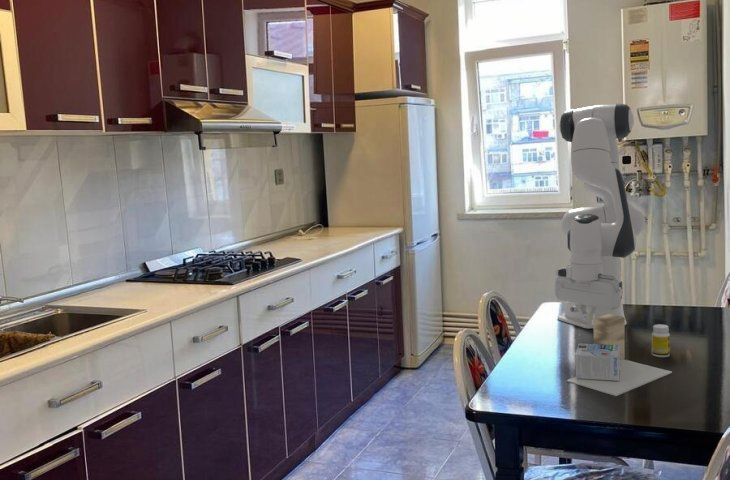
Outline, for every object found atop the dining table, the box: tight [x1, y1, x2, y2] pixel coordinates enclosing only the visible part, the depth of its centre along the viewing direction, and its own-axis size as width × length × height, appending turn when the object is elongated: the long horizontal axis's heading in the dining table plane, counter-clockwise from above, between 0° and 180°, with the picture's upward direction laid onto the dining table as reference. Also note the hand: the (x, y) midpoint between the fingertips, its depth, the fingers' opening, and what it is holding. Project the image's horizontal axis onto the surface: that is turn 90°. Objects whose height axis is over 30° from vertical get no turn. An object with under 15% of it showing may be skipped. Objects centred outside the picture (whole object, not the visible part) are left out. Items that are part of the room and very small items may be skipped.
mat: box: [566, 359, 673, 397], centre depth 176 cm, size 14×24×1 cm, turn 125°
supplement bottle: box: [651, 323, 671, 358], centre depth 190 cm, size 5×5×8 cm
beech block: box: [593, 314, 626, 360], centre depth 189 cm, size 5×7×12 cm
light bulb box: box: [574, 342, 621, 381], centre depth 178 cm, size 11×7×11 cm
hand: (587, 319), depth 194 cm, fingers closed
